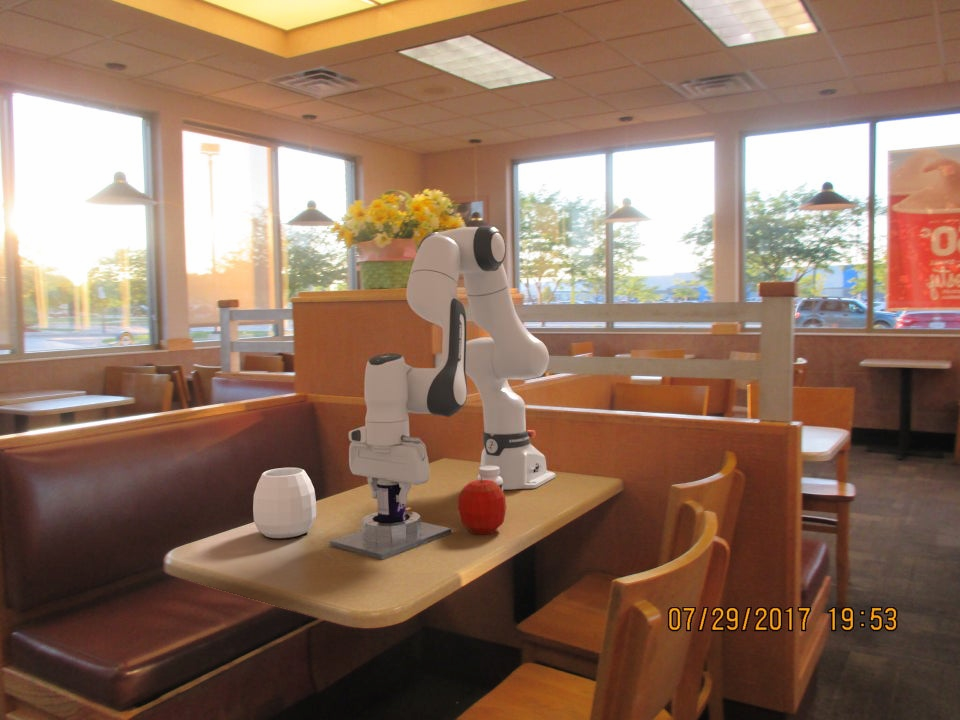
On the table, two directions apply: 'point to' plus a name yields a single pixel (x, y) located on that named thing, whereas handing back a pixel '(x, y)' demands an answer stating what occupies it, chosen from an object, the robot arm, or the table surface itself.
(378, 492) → the beverage can
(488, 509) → the apple
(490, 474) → the pill bottle
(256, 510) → the cup
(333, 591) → the table surface
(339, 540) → the hub plate
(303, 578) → the table surface
